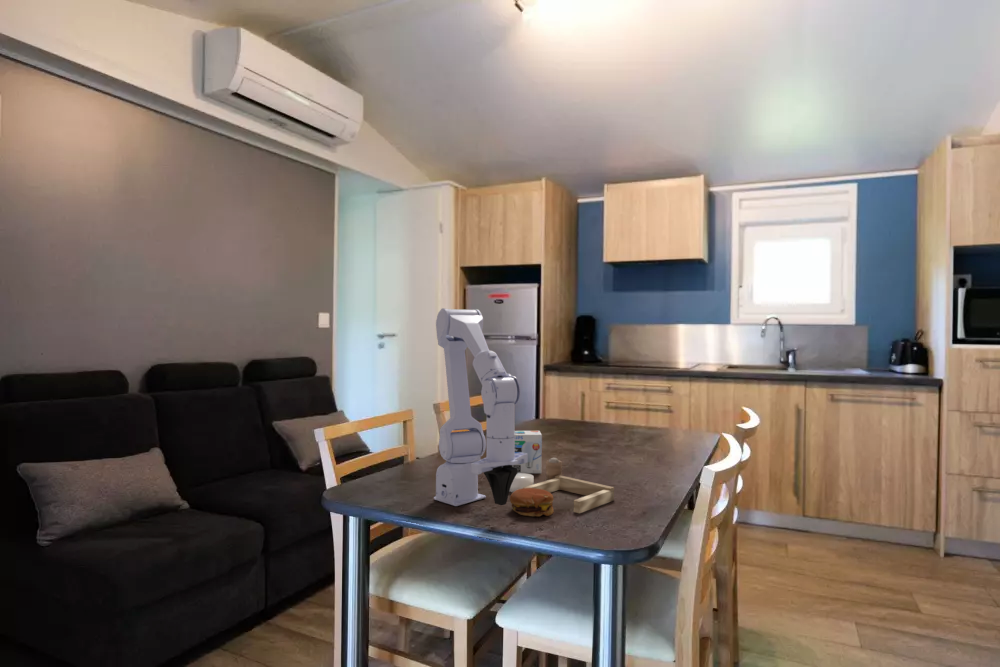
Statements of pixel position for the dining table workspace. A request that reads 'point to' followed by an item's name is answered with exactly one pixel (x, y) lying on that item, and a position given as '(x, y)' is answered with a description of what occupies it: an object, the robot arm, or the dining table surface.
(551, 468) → the pepper mill
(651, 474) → the dining table surface
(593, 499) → the bay
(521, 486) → the white dome
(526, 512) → the burger
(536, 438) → the light bulb box
